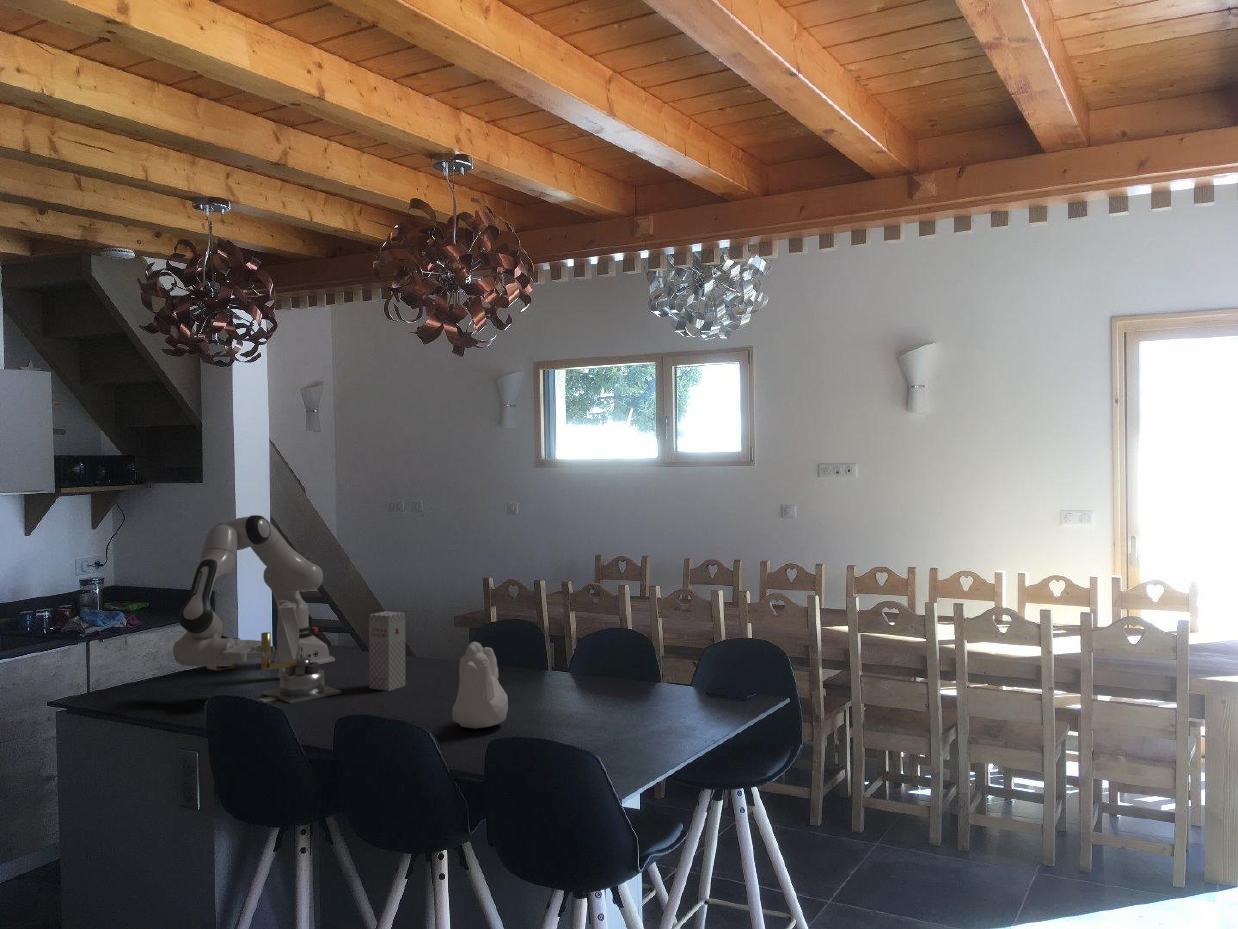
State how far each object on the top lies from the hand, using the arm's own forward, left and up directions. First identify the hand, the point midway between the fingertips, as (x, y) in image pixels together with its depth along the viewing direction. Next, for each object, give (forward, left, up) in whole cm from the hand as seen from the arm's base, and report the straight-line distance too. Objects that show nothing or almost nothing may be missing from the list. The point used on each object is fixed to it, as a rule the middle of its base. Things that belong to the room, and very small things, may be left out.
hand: (269, 651), depth 316 cm
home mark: (+1, 0, -16) cm, 16 cm away
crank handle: (-7, 0, -8) cm, 11 cm away
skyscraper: (-20, -26, -16) cm, 36 cm away
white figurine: (-29, +74, -16) cm, 81 cm away
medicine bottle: (-11, -61, -16) cm, 64 cm away
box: (-36, +12, -16) cm, 41 cm away
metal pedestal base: (-11, 0, -16) cm, 19 cm away
